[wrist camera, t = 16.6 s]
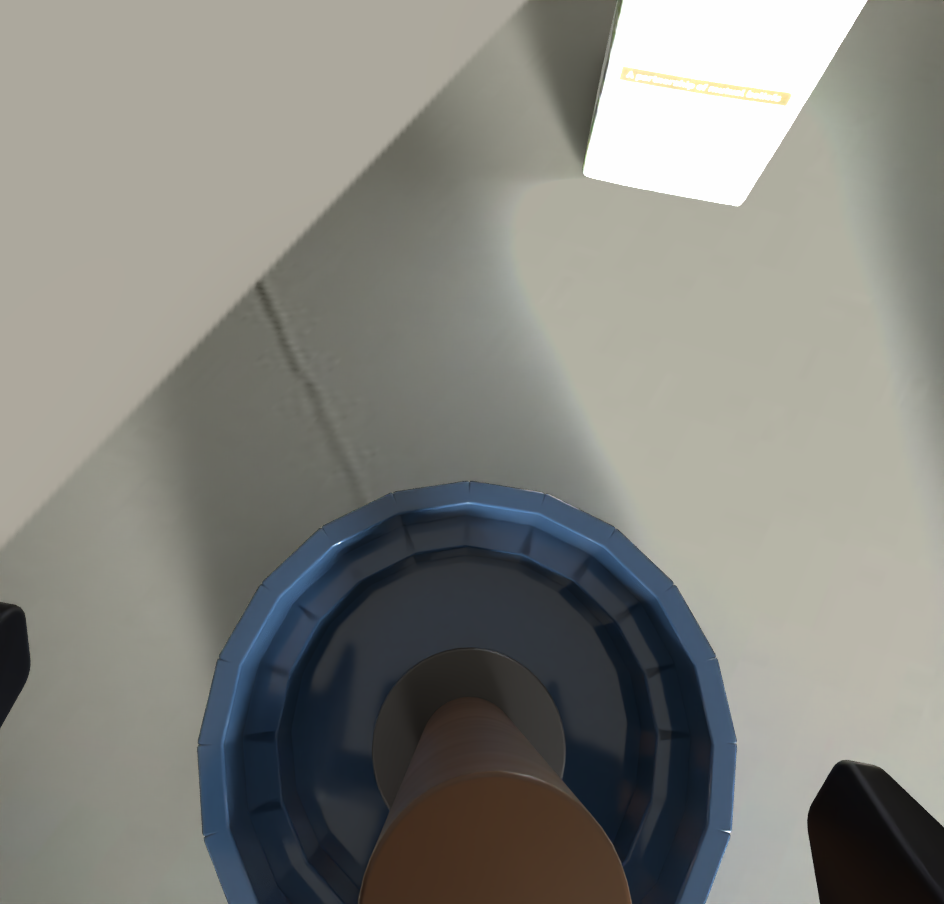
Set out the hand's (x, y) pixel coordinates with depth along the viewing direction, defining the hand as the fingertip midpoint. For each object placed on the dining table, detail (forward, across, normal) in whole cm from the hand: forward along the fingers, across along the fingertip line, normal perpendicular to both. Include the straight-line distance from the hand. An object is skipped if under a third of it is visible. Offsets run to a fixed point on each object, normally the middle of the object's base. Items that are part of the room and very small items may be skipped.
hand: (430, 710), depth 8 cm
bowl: (+9, -2, +10) cm, 14 cm away
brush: (+9, -2, +10) cm, 13 cm away
